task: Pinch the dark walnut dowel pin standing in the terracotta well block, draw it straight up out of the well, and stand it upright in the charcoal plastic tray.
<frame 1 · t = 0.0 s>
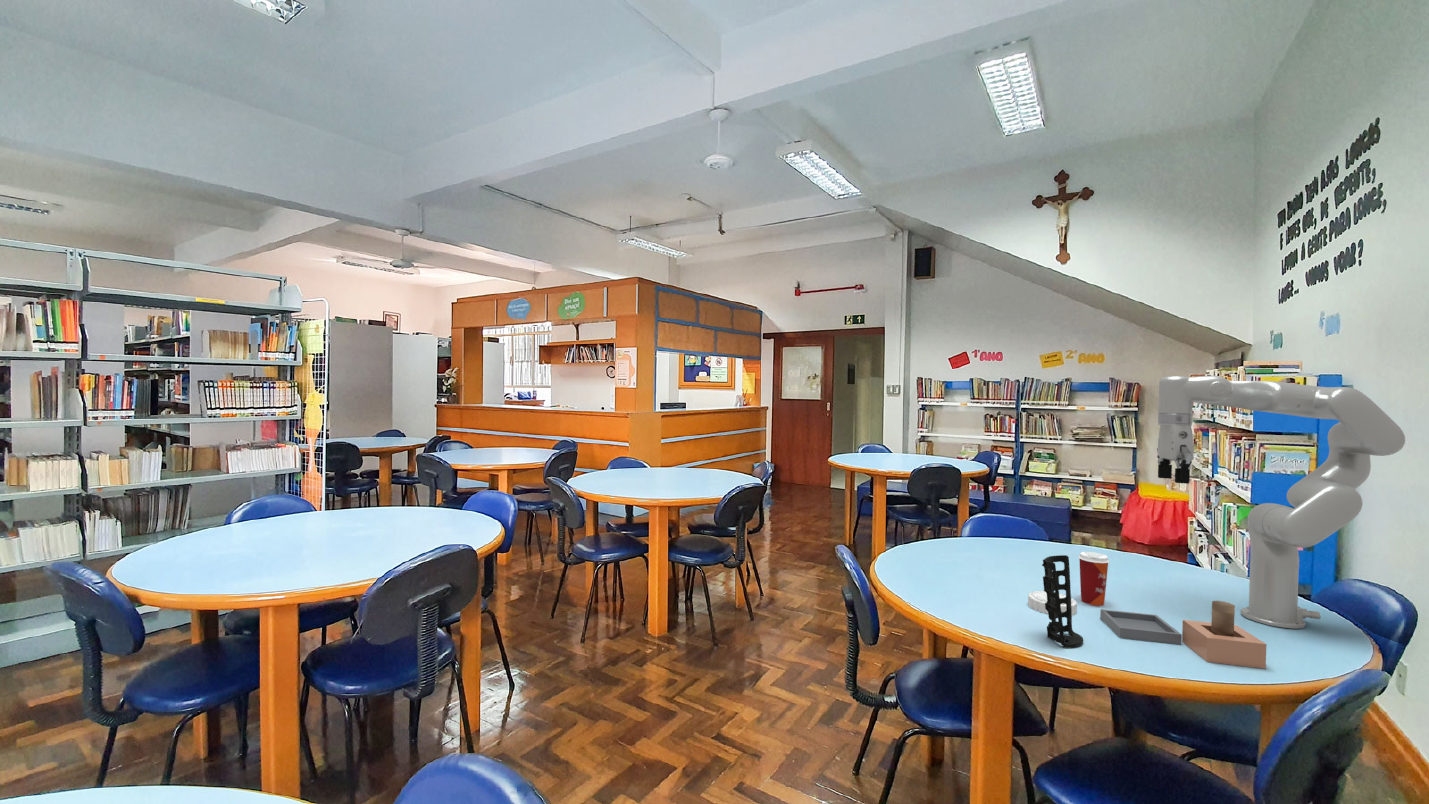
hand: (1173, 480, 163), 37 cm above the table, tool pointing down, fingers open, 9 cm apart
dowel pin: (1222, 629, 135), in the well block
paper cup: (1092, 603, 169), on the table
well block: (1221, 654, 135), on the table
tray: (1138, 630, 148), on the table
mooncake: (1051, 609, 163), on the table
holder: (1061, 640, 142), on the table
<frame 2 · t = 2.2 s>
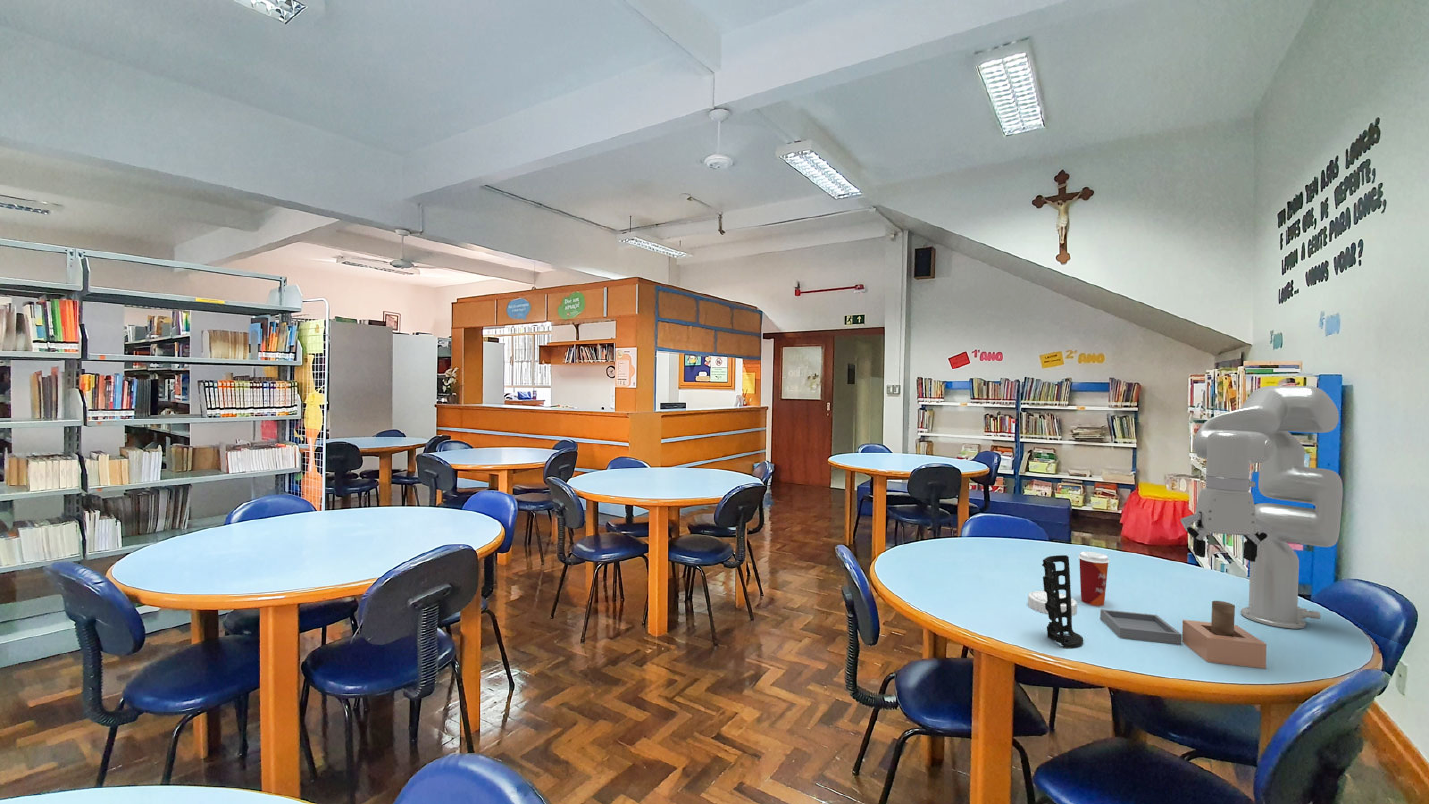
hand: (1224, 558, 135), 23 cm above the table, tool pointing down, fingers open, 9 cm apart
nothing on the table moved.
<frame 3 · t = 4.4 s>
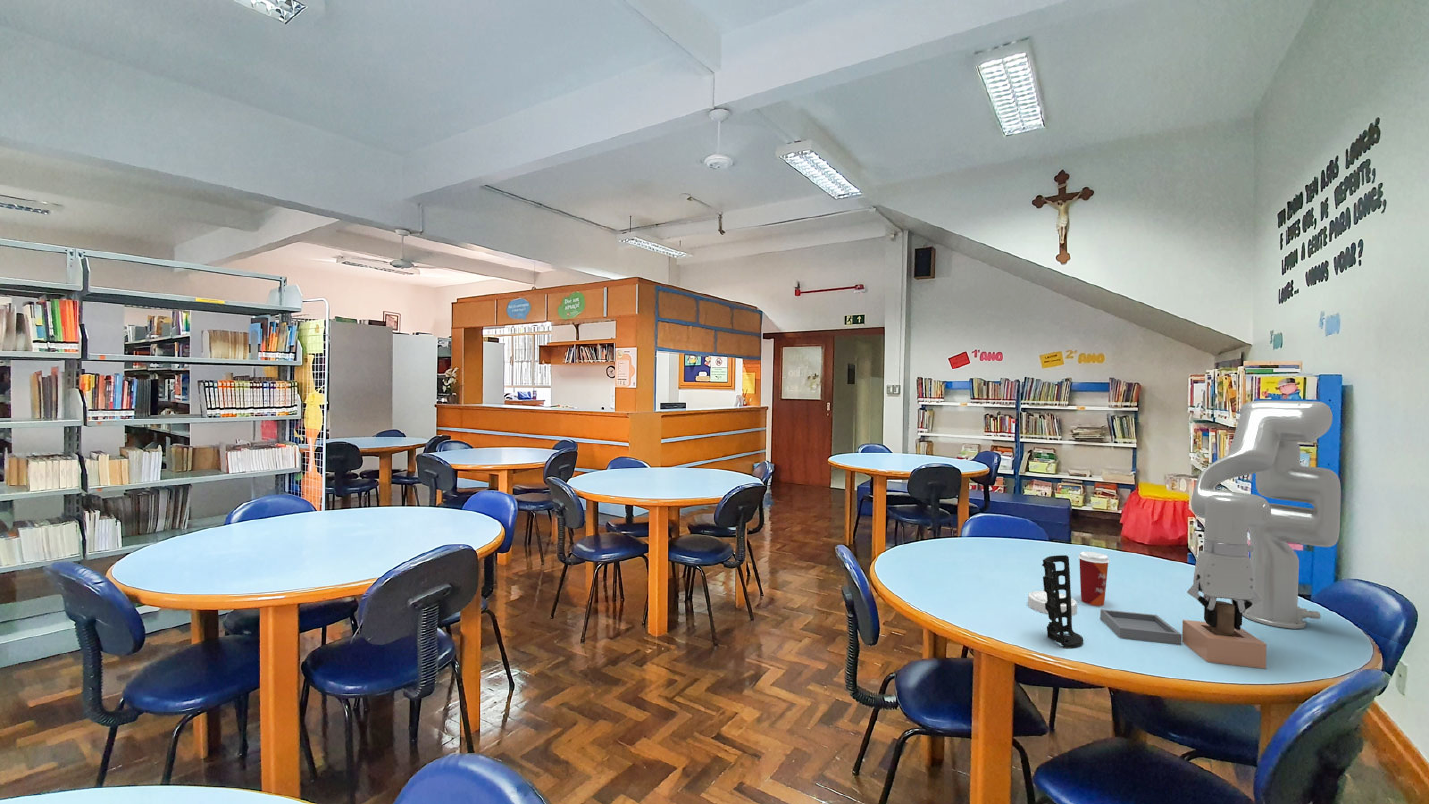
hand: (1222, 625, 135), 7 cm above the table, tool pointing down, fingers closed on dowel pin, 4 cm apart
dowel pin: (1222, 629, 135), in the well block, touching gripper
everything else where it was.
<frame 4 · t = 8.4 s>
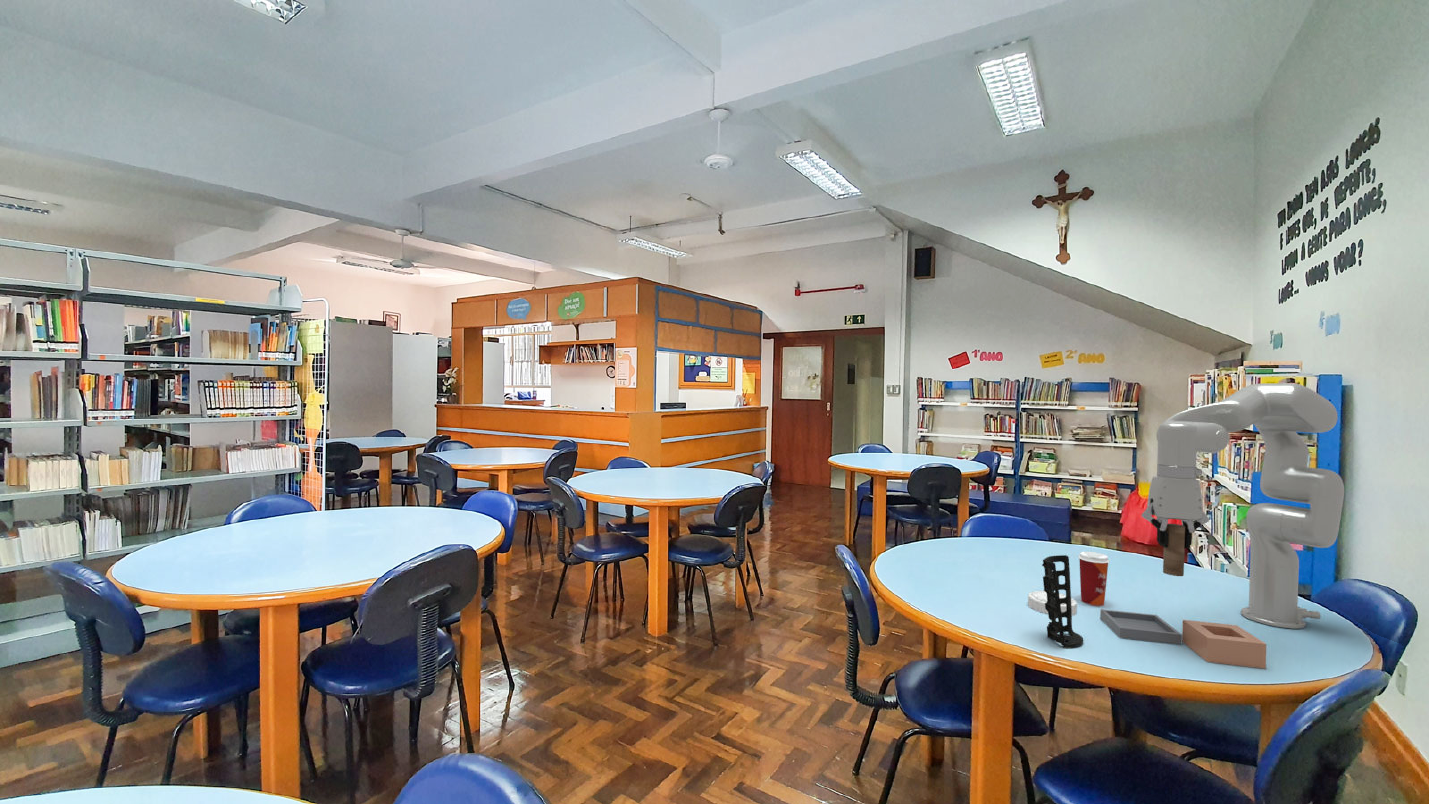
hand: (1173, 546, 143), 23 cm above the table, tool pointing down, fingers closed on dowel pin, 4 cm apart
dowel pin: (1174, 549, 142), point 23 cm above the table, touching gripper
everything else where it was.
when the fingers open (9 cm above the table, at t = 12.4 s): dowel pin stays where it is, resting on tray.
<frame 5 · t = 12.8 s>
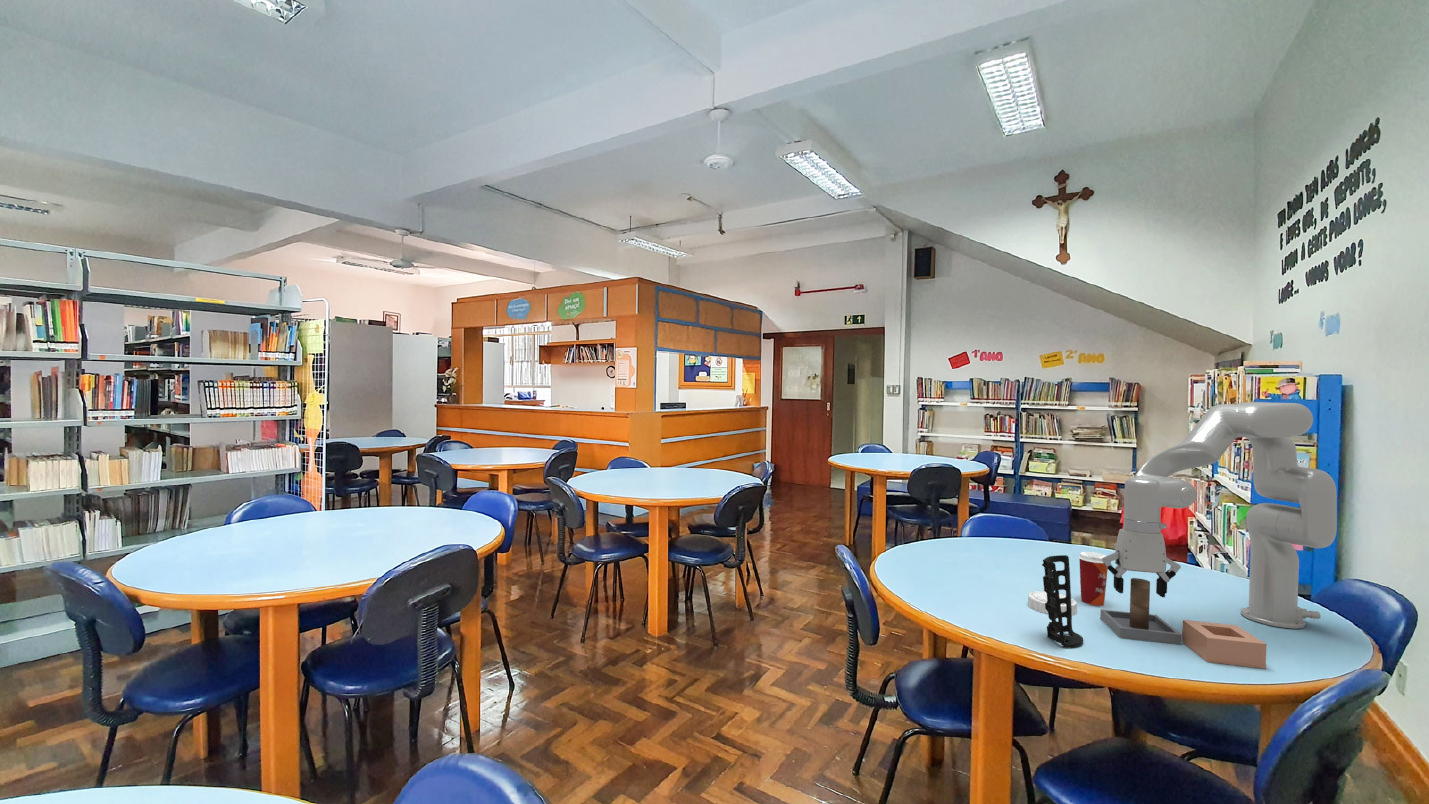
hand: (1139, 593, 148), 10 cm above the table, tool pointing down, fingers open, 8 cm apart
dowel pin: (1139, 603, 148), in the tray, point 7 cm above the table
everything else where it was.
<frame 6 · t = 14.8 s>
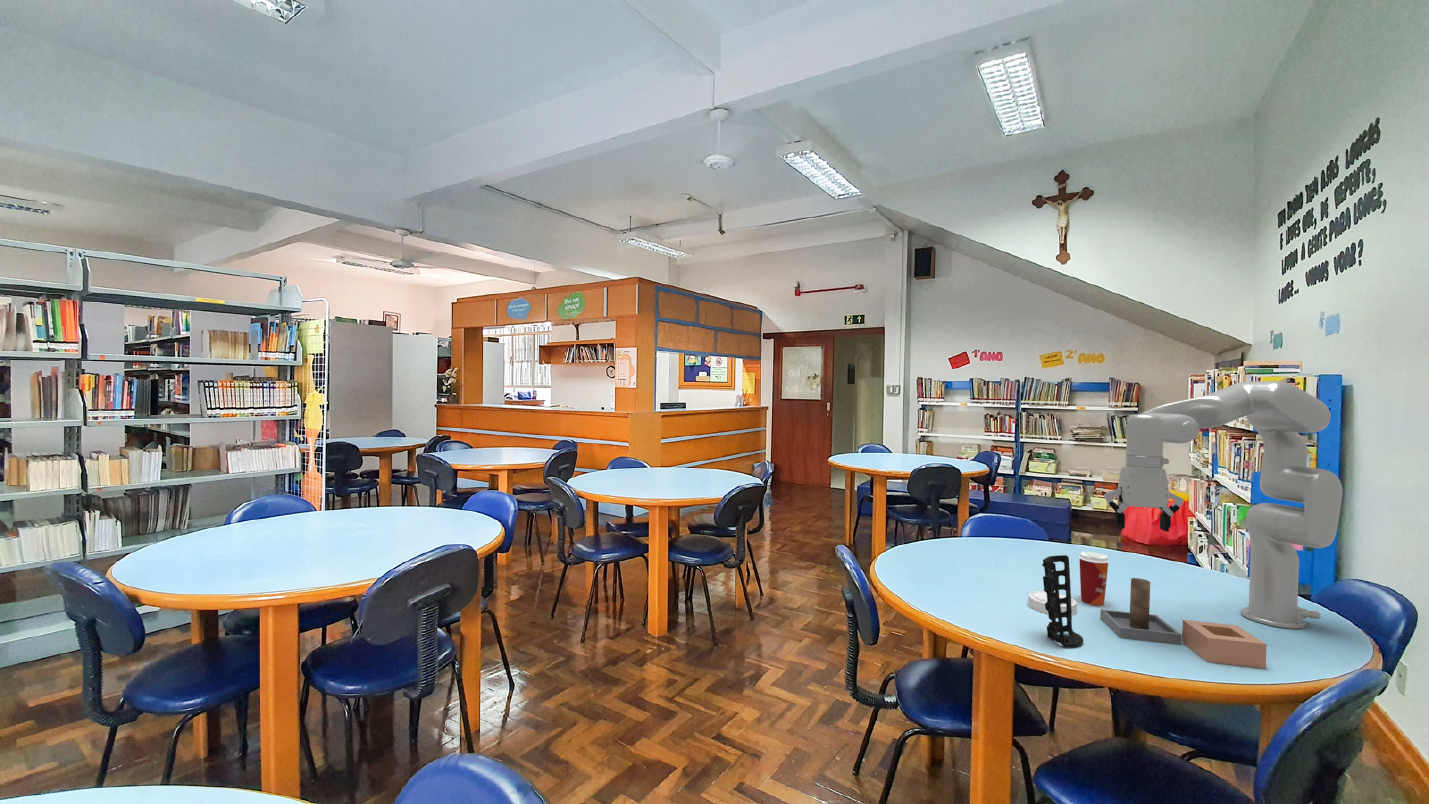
hand: (1142, 529, 148), 26 cm above the table, tool pointing down, fingers open, 9 cm apart
nothing on the table moved.
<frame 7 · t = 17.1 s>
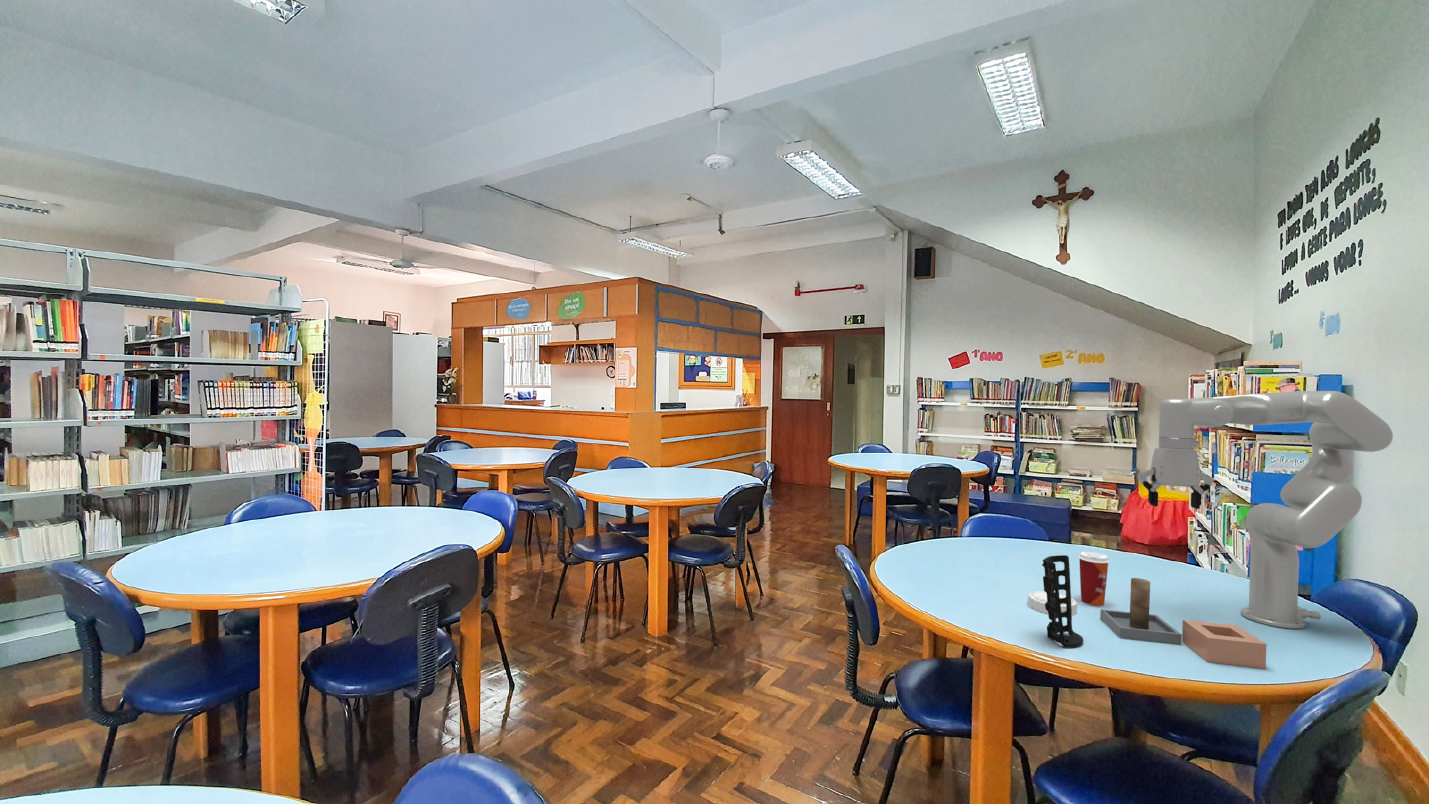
hand: (1174, 506, 158), 30 cm above the table, tool pointing down, fingers open, 9 cm apart
nothing on the table moved.
at the end: dowel pin inside the target area on the tray (0.1 cm from its centre), point 7.0 cm above the tray's base; dowel pin tilted 0°; the gripper is holding nothing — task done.
